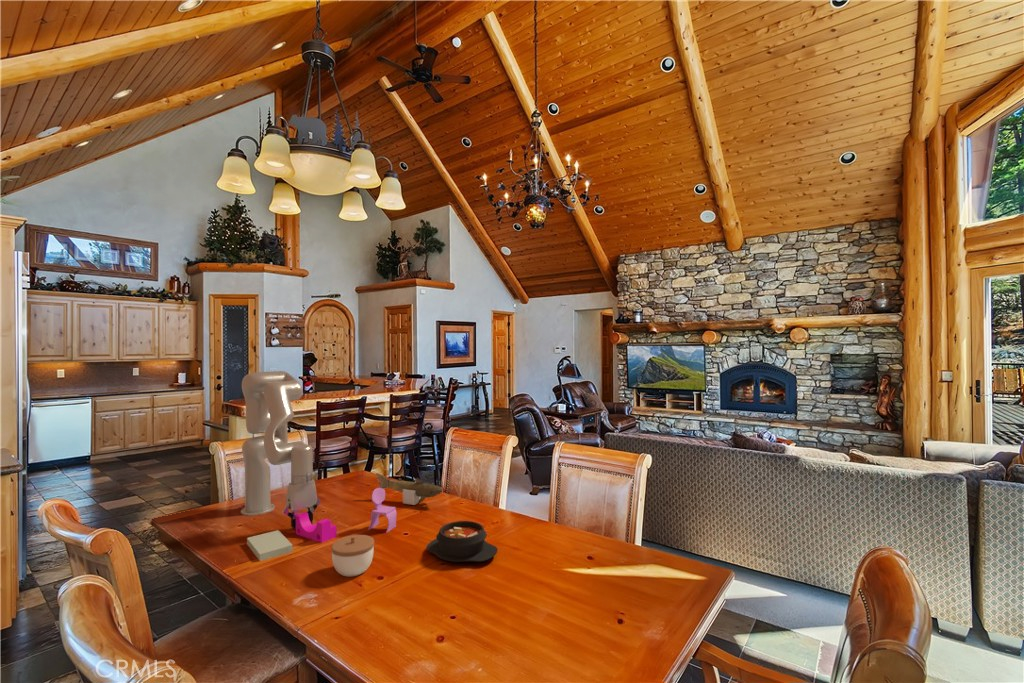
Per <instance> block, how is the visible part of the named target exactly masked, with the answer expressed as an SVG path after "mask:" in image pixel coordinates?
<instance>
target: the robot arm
mask: <svg viewBox="0 0 1024 683" xmlns="http://www.w3.org/2000/svg"><path fill="white" fill-rule="evenodd" d="M241 392H242V394H243V397H244V401H245V427H246V431H247V433H249V434H251V435H257V434H258V435H259V434H264V435H260V436H253V437H250V438H247V439H246V440H244V442H243V444H242V445H241V452H242V456H243V457H242V458H243V463H244V508H242V509H241V510H240V514H241V515H242V516H258V514H260V515H264V514H267V512H268V513H270V512H272V511H274V509H275V504H273V503H271V467H270V465H273V466H281V465H286V464H288V463H290V482H289V483H288V485H287V490H286V496H285V497H286V498H285V506H284V508H283V509H282V511H281V513H282V514H284V515H286V516H288V518H290V526H291V529H294V530H296V515H298V512H299V511H300V510H304V509H306V510H307V512H306V513H308V516H309V520H310V522H311V524H312V525H313V521H314V513H315V511H316V509H317V508H318V506H319V505H320V504H321V503H322V500H321V499H320V498H319V497H318V496H317V494H318V493H317V488H316V482H315V479H314V477H315V476H316V475H317V474H316V472H315V471H314V470H313V469H314V467H313V465H314V463H313V462H314V460H313V459H314V458H313V447H312V446H311V444H306V443H305V442H303V441H301V440H299V441H292V442H291V441H290V442H288V441H289V440H288V423H289V422H290V421H292V420H293V419H294V416H295V414H294V411H293V406H292V404H291V402H292V401H299V400H300V399H301V398H302V396H303V387H302V385H301V383H300V382H299V380H297V378H295V377H293V375H291V373H288V371H287V372H286V371H283V370H278V371H277V370H276V371H275V370H274V371H258V372H257V371H256V372H251V373H247V374H246V375H244V377H243V378H242V380H241ZM265 459H267V461H268V462H269V463H268V462H267V461H265ZM269 464H270V465H269ZM289 510H290V511H289Z"/></svg>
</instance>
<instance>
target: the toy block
mask: <svg viewBox="0 0 1024 683" xmlns="http://www.w3.org/2000/svg"><path fill="white" fill-rule="evenodd" d="M337 534H338V533H337V525H335V524H332V520H331V519H329V518H324V519H322V520H321V519H320V520H319V521H316V523H315V524H313V523H312V524H311V522H310V520H309V516H308V513H307V512H302V513H299V514H297V515H296V529H295V535H298V536H301V537H304V538H306V539H309V540H312V541H316V542H317V543H321V544H323V543H325V542H327V540H328V541H330V540H332V539H334V538H336V537H337ZM322 542H323V543H322Z"/></svg>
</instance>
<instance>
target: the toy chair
mask: <svg viewBox="0 0 1024 683" xmlns="http://www.w3.org/2000/svg"><path fill="white" fill-rule="evenodd" d="M385 499H386V490H385V488H380V487H376V488H375V489H374V490H372V494H371V502H372V503H374V509H372V510H371V514H370V524H369V527H368V529H367V530H368V531H370V530H371V529H373V528H374V527H376V526H378V525H379V524H380V522H379V518H380V515H381V516H385V517H386V519H387V521H388V525H387V529H386V531H385V533H389V532H390V531H391V530H393V529H394V528H396V527H397V509H396V506H387V505H383V504H382V502H384V500H385Z"/></svg>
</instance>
